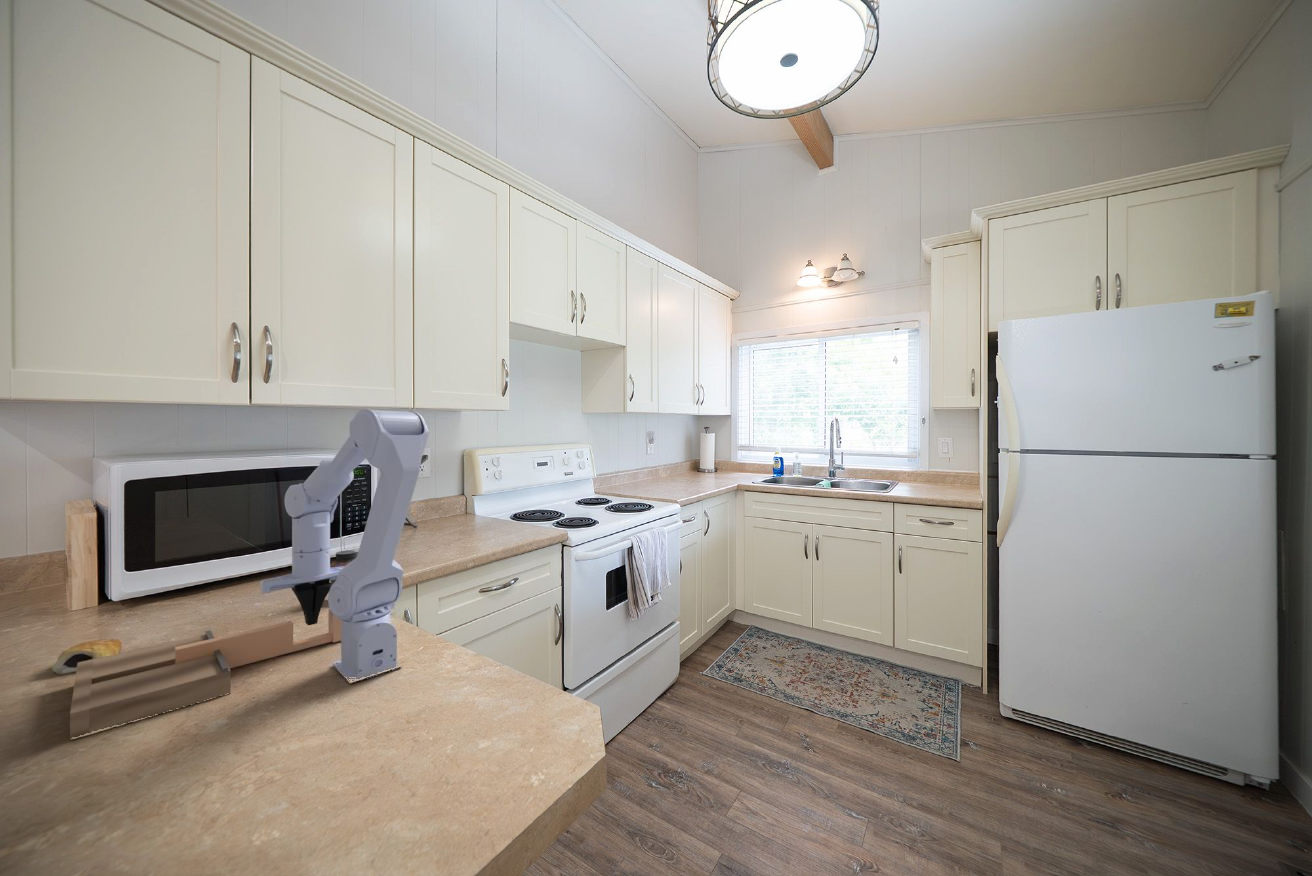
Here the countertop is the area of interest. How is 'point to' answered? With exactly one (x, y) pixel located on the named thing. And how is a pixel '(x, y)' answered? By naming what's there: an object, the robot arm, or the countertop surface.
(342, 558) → the supplement bottle
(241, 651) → the stepped wooden plank
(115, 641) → the pastry
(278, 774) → the countertop surface
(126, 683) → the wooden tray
